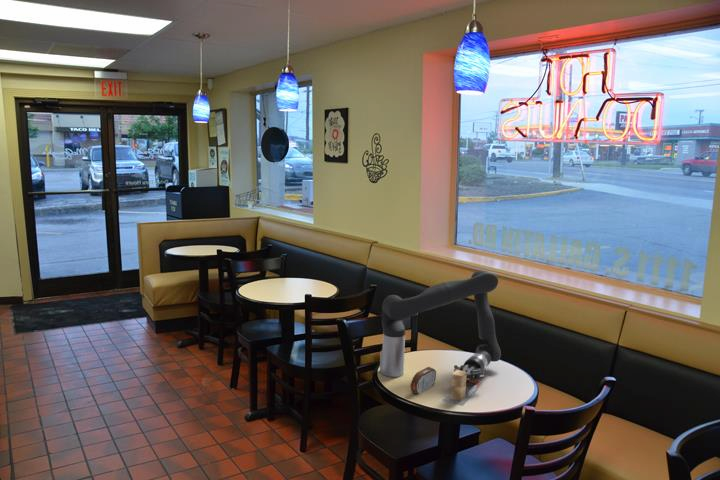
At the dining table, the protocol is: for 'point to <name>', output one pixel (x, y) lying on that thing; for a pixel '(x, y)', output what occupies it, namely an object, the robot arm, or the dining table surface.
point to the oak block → (458, 385)
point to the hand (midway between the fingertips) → (461, 379)
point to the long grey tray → (468, 393)
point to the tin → (423, 380)
